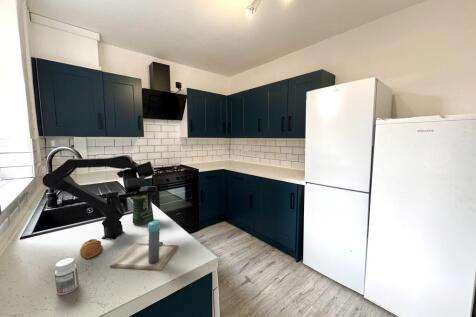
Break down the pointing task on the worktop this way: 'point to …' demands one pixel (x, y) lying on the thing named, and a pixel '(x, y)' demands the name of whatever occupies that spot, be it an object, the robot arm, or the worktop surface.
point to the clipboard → (144, 257)
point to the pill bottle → (66, 276)
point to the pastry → (90, 248)
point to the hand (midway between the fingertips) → (136, 212)
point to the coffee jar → (141, 209)
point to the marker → (153, 241)
